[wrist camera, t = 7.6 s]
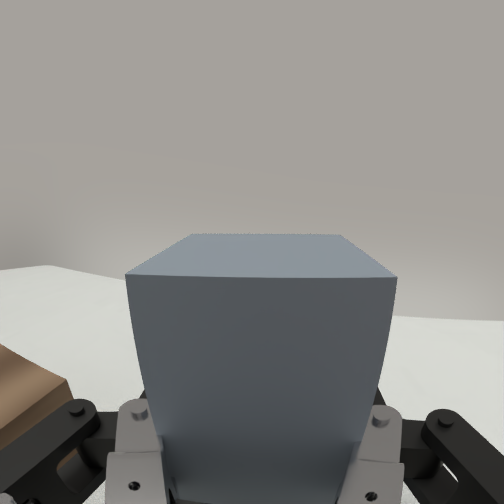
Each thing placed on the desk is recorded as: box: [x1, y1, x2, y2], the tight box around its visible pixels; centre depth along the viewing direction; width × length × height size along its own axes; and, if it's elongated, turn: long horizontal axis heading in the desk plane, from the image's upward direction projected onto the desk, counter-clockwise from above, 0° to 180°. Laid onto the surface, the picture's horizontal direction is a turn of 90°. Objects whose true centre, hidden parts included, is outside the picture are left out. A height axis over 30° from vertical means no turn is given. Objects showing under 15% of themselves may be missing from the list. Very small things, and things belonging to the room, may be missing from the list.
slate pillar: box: [125, 234, 397, 504], centre depth 9 cm, size 5×5×12 cm
